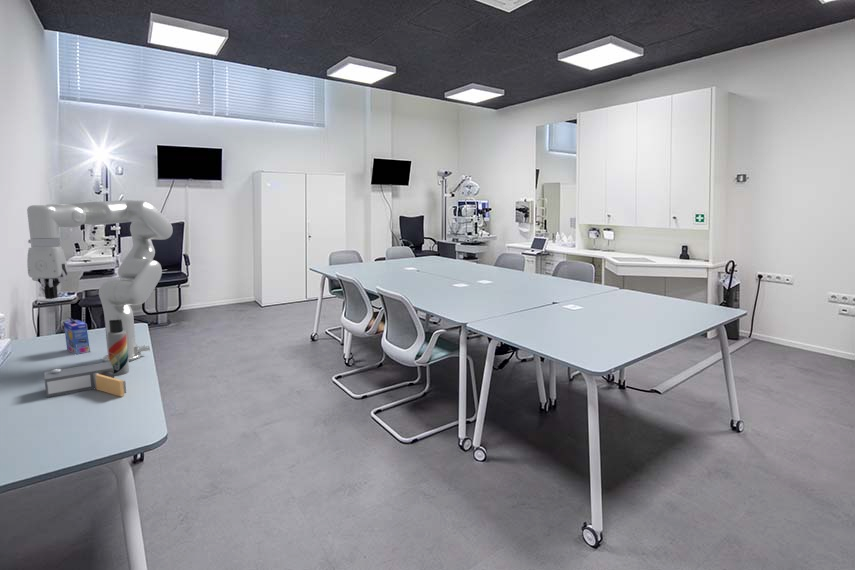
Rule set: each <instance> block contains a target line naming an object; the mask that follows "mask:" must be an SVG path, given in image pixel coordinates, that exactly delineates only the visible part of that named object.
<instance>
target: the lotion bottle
mask: <svg viewBox="0 0 855 570" xmlns="http://www.w3.org/2000/svg"><path fill="white" fill-rule="evenodd" d="M109 326H110V332H109V333H107V338H108V350H109V361H110V362H111V364H112V366H113V370H114V376H121V374H122V375H125V374H127V372H128V373H129V372H130V364H129V363H130V361H128V349H127V337H126V331H123V325H122V319H119V320H109Z"/></svg>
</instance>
